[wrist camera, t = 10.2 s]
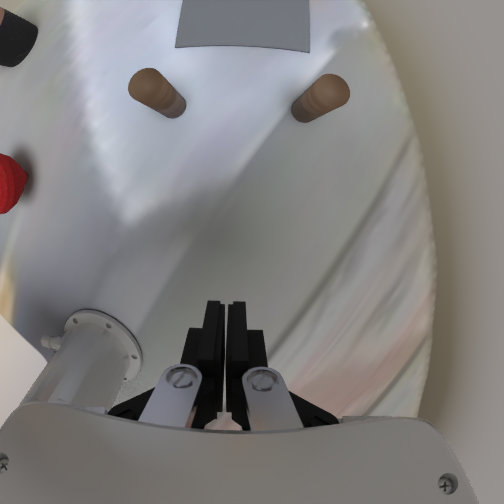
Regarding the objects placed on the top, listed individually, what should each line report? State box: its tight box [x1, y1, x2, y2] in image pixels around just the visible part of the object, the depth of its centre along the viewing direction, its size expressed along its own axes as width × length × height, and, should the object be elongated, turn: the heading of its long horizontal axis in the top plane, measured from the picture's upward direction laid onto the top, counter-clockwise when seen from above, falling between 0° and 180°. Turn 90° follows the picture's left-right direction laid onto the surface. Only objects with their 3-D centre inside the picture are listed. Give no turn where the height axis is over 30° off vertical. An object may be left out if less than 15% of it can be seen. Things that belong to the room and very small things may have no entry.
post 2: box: [291, 74, 350, 123], centre depth 20 cm, size 3×3×9 cm
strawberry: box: [0, 154, 27, 214], centre depth 19 cm, size 6×8×10 cm
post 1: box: [128, 68, 186, 118], centre depth 19 cm, size 3×3×9 cm
